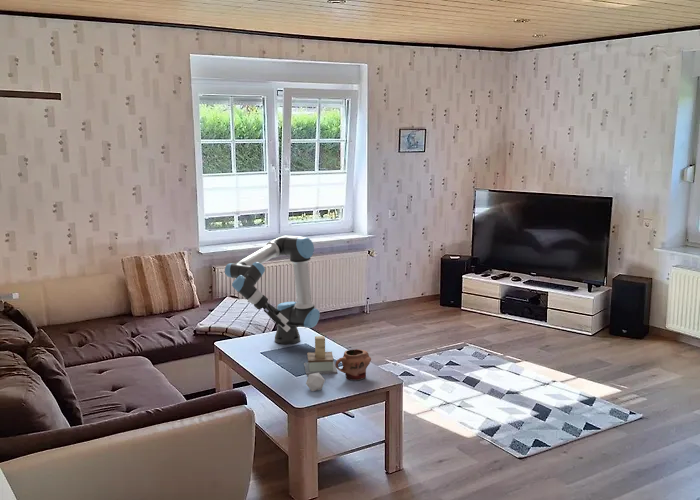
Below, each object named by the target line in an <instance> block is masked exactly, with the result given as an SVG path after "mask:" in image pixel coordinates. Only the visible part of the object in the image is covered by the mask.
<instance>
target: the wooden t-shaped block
mask: <svg viewBox="0 0 700 500" xmlns="http://www.w3.org/2000/svg"><path fill="white" fill-rule="evenodd" d="M314 350H315V351H314V352H307V354H306V355H307V363H311V362H334V363H335V360H334V355H333V351H326V337H325V336H324V335H321V336H320V335H319V336H318V335H316V336H314Z"/></svg>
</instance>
